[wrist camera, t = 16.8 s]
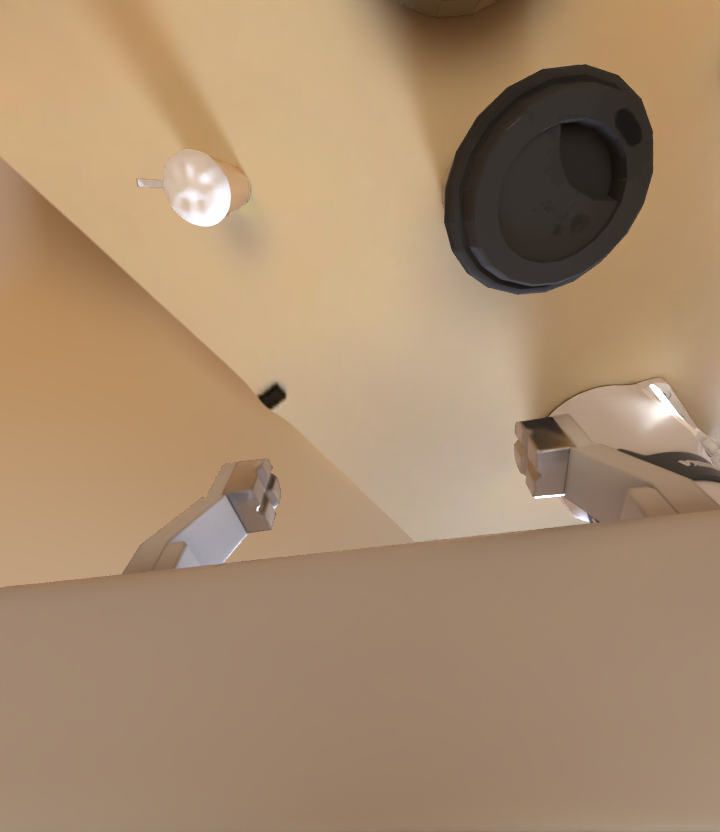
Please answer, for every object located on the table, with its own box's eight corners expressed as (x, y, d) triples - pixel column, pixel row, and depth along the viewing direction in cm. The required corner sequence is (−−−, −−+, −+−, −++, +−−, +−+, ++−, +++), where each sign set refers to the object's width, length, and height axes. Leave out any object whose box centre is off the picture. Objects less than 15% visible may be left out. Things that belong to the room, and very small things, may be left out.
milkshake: (193, 149, 31) (129, 138, 22) (258, 160, 31) (218, 154, 23) (198, 210, 33) (142, 221, 25) (258, 220, 34) (222, 234, 25)
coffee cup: (578, 179, 32) (719, 181, 19) (476, 284, 36) (534, 340, 24) (493, 64, 28) (600, -29, 15) (391, 199, 32) (408, 213, 20)
